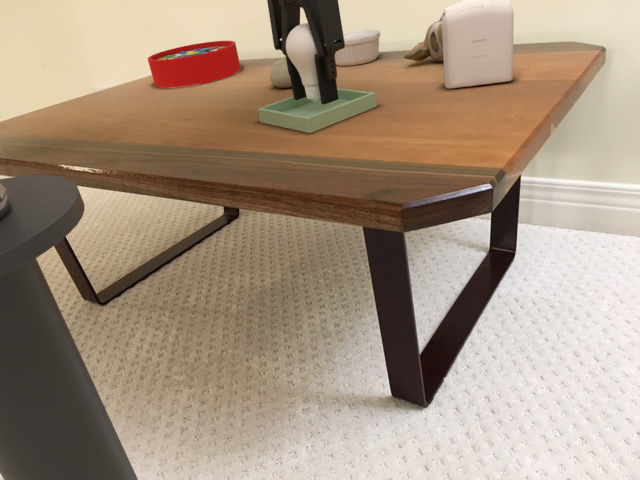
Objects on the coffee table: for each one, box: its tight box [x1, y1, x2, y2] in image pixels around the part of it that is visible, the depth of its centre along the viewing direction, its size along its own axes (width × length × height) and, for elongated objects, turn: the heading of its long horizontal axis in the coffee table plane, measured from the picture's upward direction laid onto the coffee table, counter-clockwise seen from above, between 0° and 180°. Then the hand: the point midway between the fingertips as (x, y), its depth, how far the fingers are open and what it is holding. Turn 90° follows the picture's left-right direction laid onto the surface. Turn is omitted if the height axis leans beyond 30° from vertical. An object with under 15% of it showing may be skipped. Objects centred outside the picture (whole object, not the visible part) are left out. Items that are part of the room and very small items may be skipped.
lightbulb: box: [286, 22, 325, 102], centre depth 78 cm, size 6×6×11 cm
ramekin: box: [334, 29, 381, 67], centre depth 113 cm, size 11×11×5 cm
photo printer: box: [442, 0, 515, 90], centre depth 81 cm, size 10×4×12 cm, turn 82°
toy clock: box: [147, 40, 242, 89], centre depth 124 cm, size 20×6×20 cm
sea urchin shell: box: [269, 56, 292, 89], centre depth 102 cm, size 9×8×8 cm
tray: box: [257, 87, 378, 134], centre depth 81 cm, size 13×12×2 cm
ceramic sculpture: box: [403, 12, 444, 62], centre depth 100 cm, size 11×9×15 cm
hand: (315, 99), depth 81 cm, fingers closed on lightbulb, 6 cm apart
